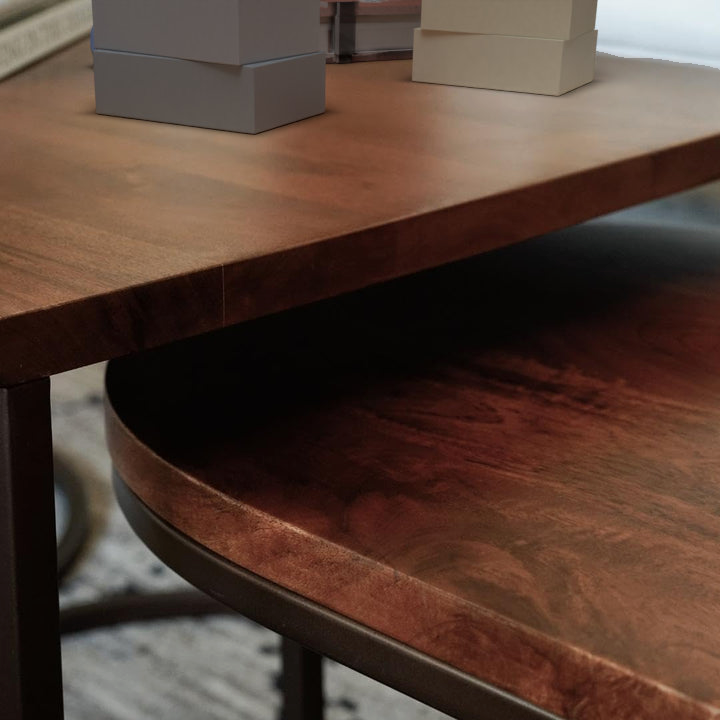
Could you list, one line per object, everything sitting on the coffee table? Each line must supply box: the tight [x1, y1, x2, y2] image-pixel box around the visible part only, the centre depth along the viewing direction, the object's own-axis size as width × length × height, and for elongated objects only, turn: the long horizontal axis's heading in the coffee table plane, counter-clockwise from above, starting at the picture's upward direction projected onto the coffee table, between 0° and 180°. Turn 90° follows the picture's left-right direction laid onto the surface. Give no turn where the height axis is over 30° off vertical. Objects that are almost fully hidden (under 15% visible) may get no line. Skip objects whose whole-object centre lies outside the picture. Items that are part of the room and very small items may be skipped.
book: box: [319, 0, 422, 64], centre depth 106 cm, size 26×18×5 cm
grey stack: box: [91, 0, 327, 135], centre depth 75 cm, size 12×10×8 cm
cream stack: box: [411, 0, 599, 97], centre depth 91 cm, size 12×10×8 cm
